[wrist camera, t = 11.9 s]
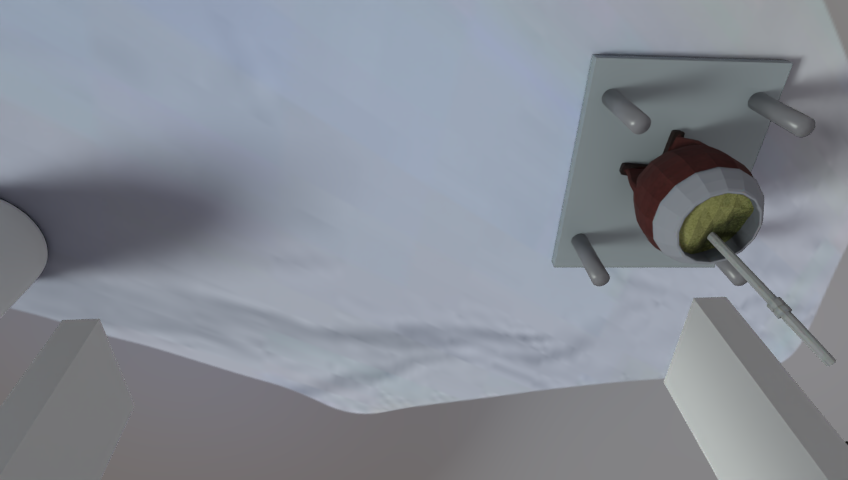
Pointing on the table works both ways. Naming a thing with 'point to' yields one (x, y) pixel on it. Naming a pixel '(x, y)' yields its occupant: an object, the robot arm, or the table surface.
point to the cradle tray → (658, 144)
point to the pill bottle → (18, 254)
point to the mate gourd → (705, 214)
